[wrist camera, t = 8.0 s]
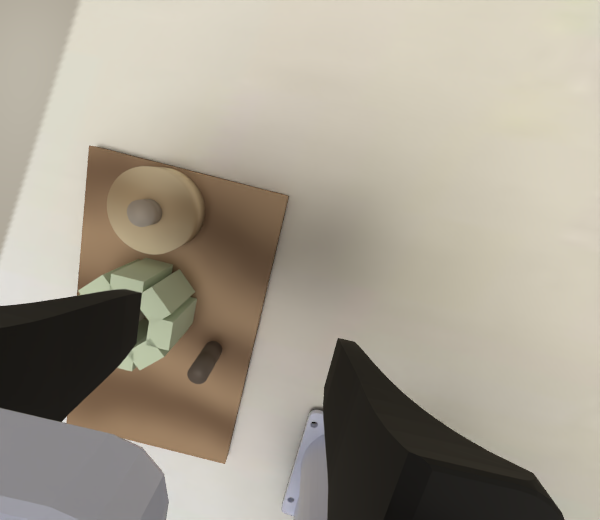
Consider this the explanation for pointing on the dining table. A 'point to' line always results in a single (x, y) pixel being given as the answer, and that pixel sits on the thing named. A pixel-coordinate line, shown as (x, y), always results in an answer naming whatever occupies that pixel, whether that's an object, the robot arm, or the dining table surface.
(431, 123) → the dining table surface
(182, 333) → the gear
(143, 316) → the gear board
